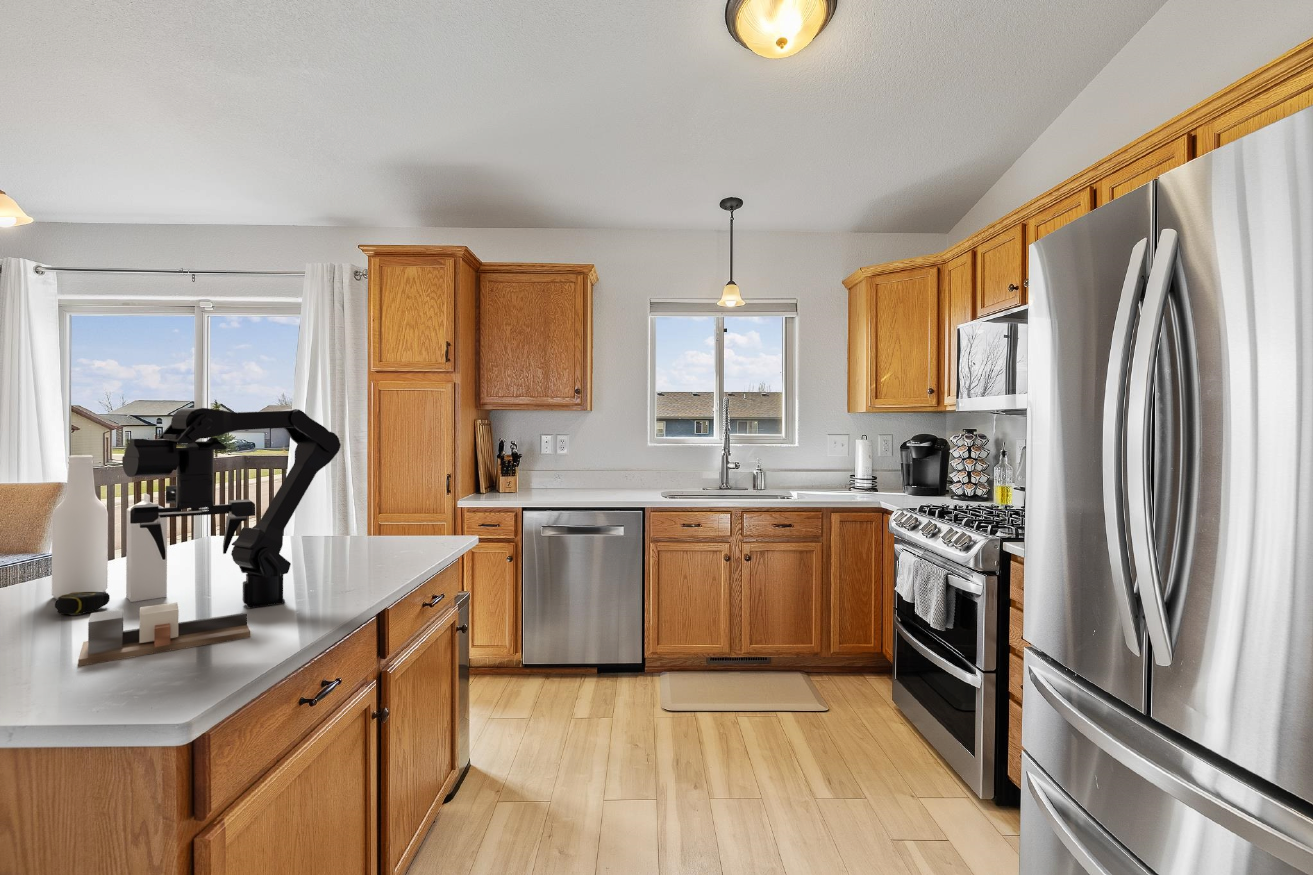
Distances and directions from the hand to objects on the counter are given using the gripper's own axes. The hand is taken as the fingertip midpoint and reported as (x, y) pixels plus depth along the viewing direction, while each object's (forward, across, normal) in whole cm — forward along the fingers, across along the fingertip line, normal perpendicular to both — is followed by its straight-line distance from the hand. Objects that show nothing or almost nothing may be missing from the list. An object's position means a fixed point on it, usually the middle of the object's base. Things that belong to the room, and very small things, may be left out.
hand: (194, 556), depth 117 cm
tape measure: (+12, +17, -19) cm, 29 cm away
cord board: (+12, +4, +13) cm, 18 cm away
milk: (+12, +7, -25) cm, 29 cm away
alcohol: (+12, +18, -35) cm, 41 cm away
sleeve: (+11, +6, +13) cm, 18 cm away
